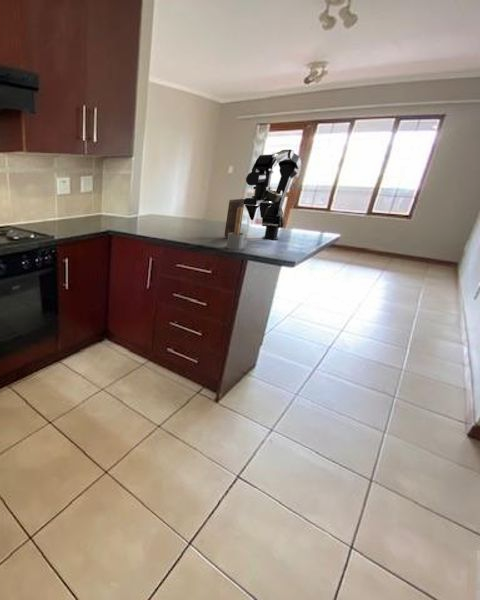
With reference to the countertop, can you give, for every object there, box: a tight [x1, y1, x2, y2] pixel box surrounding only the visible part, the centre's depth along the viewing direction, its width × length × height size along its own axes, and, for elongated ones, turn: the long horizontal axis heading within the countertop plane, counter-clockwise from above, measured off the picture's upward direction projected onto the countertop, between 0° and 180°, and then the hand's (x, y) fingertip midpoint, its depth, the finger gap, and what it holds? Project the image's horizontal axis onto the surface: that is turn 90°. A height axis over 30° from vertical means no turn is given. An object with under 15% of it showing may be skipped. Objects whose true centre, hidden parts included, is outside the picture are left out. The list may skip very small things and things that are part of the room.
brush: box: [234, 208, 244, 235], centre depth 152 cm, size 3×3×18 cm
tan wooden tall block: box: [223, 198, 245, 239], centre depth 172 cm, size 8×7×20 cm
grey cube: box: [226, 232, 246, 251], centre depth 154 cm, size 7×7×7 cm
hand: (257, 218), depth 159 cm, fingers open, 9 cm apart
